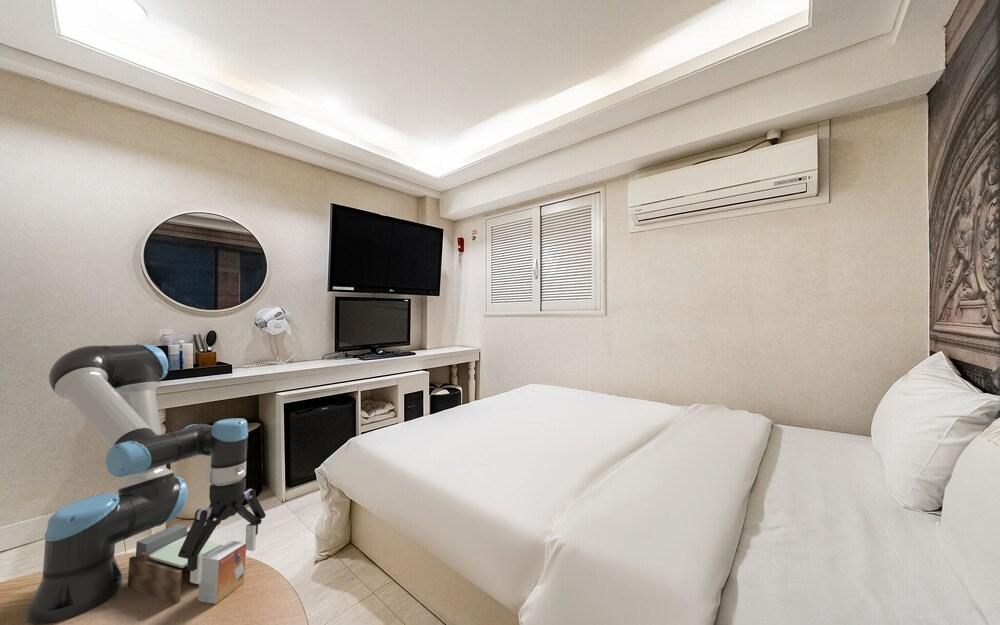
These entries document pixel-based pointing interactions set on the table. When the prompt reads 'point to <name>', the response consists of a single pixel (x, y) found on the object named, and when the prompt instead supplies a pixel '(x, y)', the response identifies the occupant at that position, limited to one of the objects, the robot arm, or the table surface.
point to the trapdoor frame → (154, 578)
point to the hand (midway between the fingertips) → (224, 564)
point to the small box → (222, 571)
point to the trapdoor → (169, 546)
